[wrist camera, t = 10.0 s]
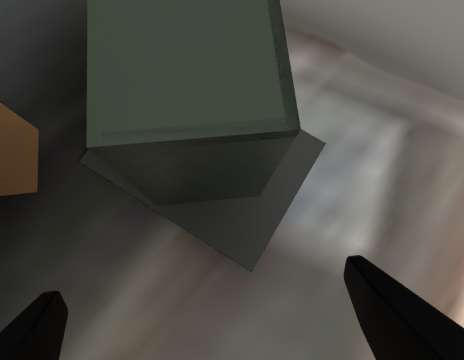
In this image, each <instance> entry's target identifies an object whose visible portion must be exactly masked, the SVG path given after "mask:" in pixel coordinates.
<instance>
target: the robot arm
mask: <svg viewBox="0 0 464 360" xmlns="http://www.w3.org/2000/svg"><path fill="white" fill-rule="evenodd" d="M344 281H345V284H346V287H347V290H348V293H349V295H350V298H351V301H352V304H353V307H354V310H355V313H356V316H357V318H358V321H359V324H360V326H361V329H362V331H363V333H364V335H365V337H366V340H367V342H368V344H369V346H370V348H371V350H372V352H373V354H374V356H375V359H376V360H464V328H463V327H462V326H460V325H459V324H457V323H456V322H455V321H453V320H452V319H450V318H449V317H447V316H446V315H445V314H443V313H442V312H440V311H439V310H438V309H436V308H435V307H433V306H432V305H430V304H429V303H428V302H426V301H425V300H423V299H422V298H421V297H419V296H418V295H416V294H415V293H413V292H412V291H411V290H409V289H408V288H406V287H405V286H404V285H402V284H401V283H399V282H398V281H397V280H395V279H394V278H392V277H391V276H389V275H388V274H387V273H385V272H384V271H382V270H381V269H380V268H378V267H377V266H375V265H374V264H372V263H371V262H370V261H368V260H367V259H365V258H364V257H362V256H360V255H355V256H349V257H347V259H346V264H345V270H344ZM67 317H68V308H67V306H66V304H65V302H64V300H63V298H62V296H61V294H60V292H59V291H49V292H44V293H42V294H41V295H40V296H39V297H38V298H36V299H35V300H34V301H33V302H32V303H31V304H30V305H29V306H28V307H27V308H26V309H25V310H24V311H22V312H21V313H20V314H19V315H18V316H17V317H16V318H15V319H14V320H13V321H12V322H11V323H10V324H8V325H7V326H6V327H5V328H4V329H3V330H2V331H1V332H0V360H59V357H60V352H61V347H62V342H63V337H64V332H65V327H66V322H67Z"/></svg>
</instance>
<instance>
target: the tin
mask: <svg viewBox="0 0 464 360" xmlns="http://www.w3.org/2000/svg"><path fill="white" fill-rule="evenodd" d="M300 130H301V127H300V121H299V115H298V109H297V103H296V97H295V91H294V85H293V79H292V73H291V67H290V61H289V55H288V48H287V42H286V36H285V30H284V24H283V18H282V12H281V6H280V0H87V148H88V149H89V150H90V151H91V152H93V153H94V154H95V155H96V156H98V157H99V158H100V159H101V160H102V161H104V162H105V163H106V164H107V165H108V166H110V167H111V168H112V169H113V170H115V171H116V172H117V173H118V174H119V175H121V176H122V177H123V178H124V179H126V180H127V181H128V182H129V183H130V184H132V185H133V186H134V187H135V188H136V189H138V190H139V191H140V192H141V193H143V194H144V195H145V196H146V197H147V198H149V199H150V200H151V201H152V202H153V203H155V204H156V205H157V206H161V205H171V204H182V203H192V202H203V201H213V200H224V199H234V198H245V197H255V196H260V195H261V193H262V192H263V190H264V188H265V187H266V185H267V183H268V182H269V180H270V179H271V177H272V175H273V174H274V172H275V170H276V169H277V167H278V166H279V164H280V162H281V161H282V159H283V158H284V156H285V154H286V153H287V151H288V149H289V148H290V146H291V145H292V143H293V141H294V140H295V138H296V137H297V135H298V133H299V132H300Z"/></svg>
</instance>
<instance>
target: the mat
mask: <svg viewBox="0 0 464 360" xmlns="http://www.w3.org/2000/svg"><path fill="white" fill-rule="evenodd" d="M325 144H326V143H324V142H322V141H321V140H319V139H317V138H315V137H314V136H312V135H310V134H308V133H307V132H305V131H303V130H302V129H301V130H300V132H299V133H298V135H297V137H296V138H295V140H294V141H293V143H292V145H291V146H290V148H289V149H288V151H287V153H286V154H285V156H284V158H283V159H282V161H281V162H280V164H279V166H278V167H277V169H276V170H275V172H274V174H273V175H272V177H271V179H270V180H269V182H268V183H267V185H266V187H265V188H264V190H263V192H262V193H261V195H260V196H255V197H245V198H234V199H224V200H213V201H203V202H192V203H182V204H171V205H161V206H157V205H156V204H155V203H153V202H152V201H151V200H150V199H149V198H147V197H146V196H145V195H144V194H143V193H141V192H140V191H139V190H138V189H136V188H135V187H134V186H133V185H132V184H130V183H129V182H128V181H127V180H126V179H124V178H123V177H122V176H121V175H119V174H118V173H117V172H116V171H115V170H113V169H112V168H111V167H110V166H108V165H107V164H106V163H105V162H104V161H102V160H101V159H100V158H99V157H98V156H96V155H95V154H94V153H93V152H91V151H90V150H89V149H88V151H87V152H86V153H85V155H84V156H83V157H82V158H81V160H80V161H79V162H80V163H82V164H83V165H85V166H87V167H88V168H90V169H91V170H93V171H94V172H96V173H98V174H99V175H101V176H102V177H104V178H105V179H107V180H108V181H110V182H112V183H113V184H115V185H116V186H118V187H119V188H121V189H123V190H124V191H126V192H127V193H129V194H130V195H132V196H134V197H135V198H137V199H138V200H140V201H141V202H143V203H144V204H146V205H148V206H149V207H151V208H152V209H154V210H155V211H157V212H159V213H160V214H162V215H163V216H165V217H166V218H168V219H169V220H171V221H173V222H174V223H176V224H177V225H179V226H180V227H182V228H184V229H185V230H187V231H188V232H190V233H191V234H193V235H194V236H196V237H198V238H199V239H201V240H202V241H204V242H205V243H207V244H209V245H210V246H212V247H213V248H215V249H216V250H218V251H220V252H221V253H223V254H224V255H226V256H227V257H229V258H230V259H232V260H234V261H235V262H237V263H238V264H240V265H241V266H243V267H245V268H246V269H248V270H249V271H252V270H253V268H254V266H255V264H256V263H257V261H258V259H259V257H260V256H261V254H262V252H263V251H264V249H265V247H266V245H267V244H268V242H269V240H270V239H271V237H272V235H273V233H274V232H275V230H276V228H277V226H278V225H279V223H280V221H281V220H282V218H283V216H284V214H285V213H286V211H287V209H288V208H289V206H290V204H291V202H292V201H293V199H294V197H295V195H296V194H297V192H298V190H299V189H300V187H301V185H302V183H303V182H304V180H305V178H306V177H307V175H308V173H309V171H310V170H311V168H312V166H313V164H314V163H315V161H316V159H317V158H318V156H319V154H320V152H321V151H322V149H323V147H324V146H325Z"/></svg>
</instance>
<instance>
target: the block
mask: <svg viewBox="0 0 464 360" xmlns="http://www.w3.org/2000/svg"><path fill="white" fill-rule="evenodd" d="M38 140H39V130H38V129H37V128H35V127H34V126H33V125H31V124H30V123H28V122H27V121H26V120H24V119H23V118H21V117H20V116H18V115H17V114H16V113H14V112H13V111H11V110H10V109H9V108H7V107H6V106H4V105H3V104H2V103H0V196H5V195H15V194H24V193H33V192H37V183H38Z"/></svg>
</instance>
